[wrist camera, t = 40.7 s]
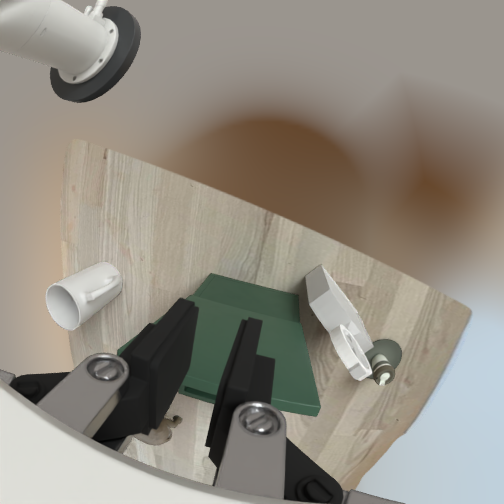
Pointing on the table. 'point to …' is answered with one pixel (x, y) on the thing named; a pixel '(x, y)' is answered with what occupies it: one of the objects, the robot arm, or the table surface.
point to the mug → (83, 294)
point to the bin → (246, 299)
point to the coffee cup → (383, 360)
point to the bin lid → (270, 345)
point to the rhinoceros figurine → (160, 432)
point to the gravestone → (340, 322)
